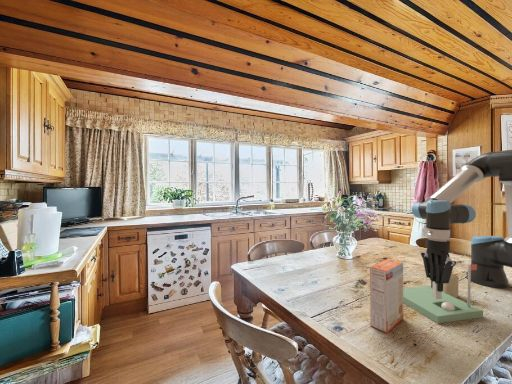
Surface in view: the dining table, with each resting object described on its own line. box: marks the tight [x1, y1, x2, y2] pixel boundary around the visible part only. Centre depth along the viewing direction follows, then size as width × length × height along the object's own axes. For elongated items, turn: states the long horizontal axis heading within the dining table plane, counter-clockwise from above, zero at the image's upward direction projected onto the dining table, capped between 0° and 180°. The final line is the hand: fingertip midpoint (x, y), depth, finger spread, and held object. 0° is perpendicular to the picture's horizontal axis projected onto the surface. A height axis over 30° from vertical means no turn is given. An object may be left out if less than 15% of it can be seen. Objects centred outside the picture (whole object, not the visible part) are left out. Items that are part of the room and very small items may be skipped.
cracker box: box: [369, 258, 404, 334], centre depth 82 cm, size 14×6×21 cm, turn 128°
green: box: [403, 264, 484, 324], centre depth 94 cm, size 21×22×18 cm
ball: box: [441, 302, 455, 312], centre depth 88 cm, size 4×4×4 cm
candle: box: [443, 272, 459, 298], centre depth 103 cm, size 6×6×10 cm
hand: (436, 298), depth 93 cm, fingers closed
